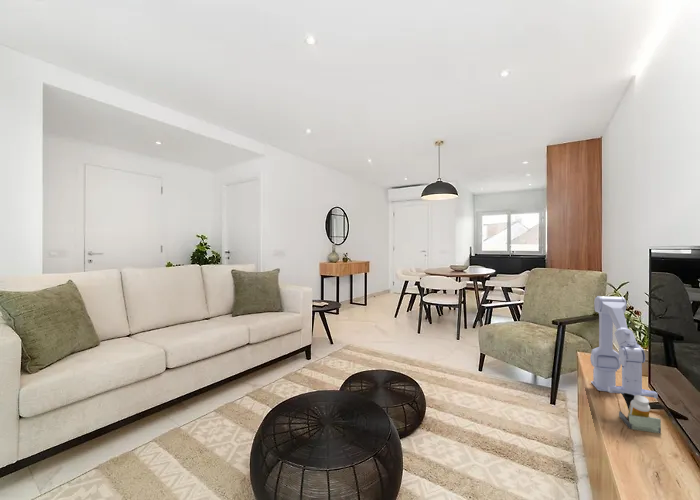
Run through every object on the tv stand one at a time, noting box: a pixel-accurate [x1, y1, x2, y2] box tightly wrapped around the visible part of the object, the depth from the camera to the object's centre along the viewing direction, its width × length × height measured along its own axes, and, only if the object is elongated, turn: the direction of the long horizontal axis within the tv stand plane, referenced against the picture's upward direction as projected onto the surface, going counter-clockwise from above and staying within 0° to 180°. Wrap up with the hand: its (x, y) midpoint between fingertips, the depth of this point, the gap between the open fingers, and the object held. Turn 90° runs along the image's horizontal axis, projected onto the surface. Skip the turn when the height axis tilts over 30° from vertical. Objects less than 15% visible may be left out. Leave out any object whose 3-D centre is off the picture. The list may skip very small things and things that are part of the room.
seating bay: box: [618, 410, 662, 434], centre depth 116 cm, size 9×9×5 cm
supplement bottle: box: [627, 395, 651, 419], centre depth 116 cm, size 5×5×10 cm
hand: (632, 413), depth 121 cm, fingers closed, pressing on supplement bottle
